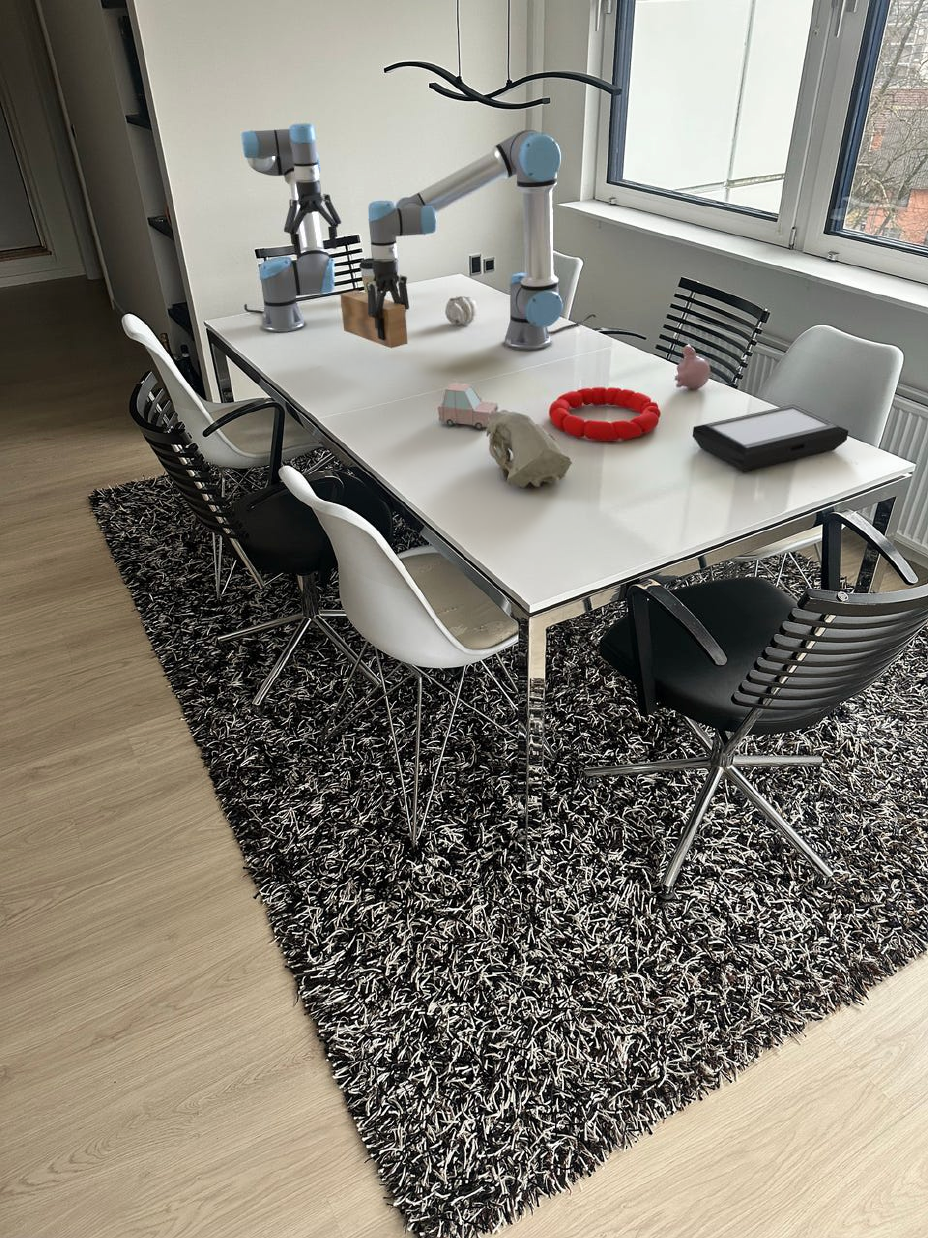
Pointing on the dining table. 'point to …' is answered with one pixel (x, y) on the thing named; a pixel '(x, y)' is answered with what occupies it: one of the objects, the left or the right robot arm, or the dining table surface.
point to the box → (365, 325)
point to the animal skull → (525, 450)
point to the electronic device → (769, 437)
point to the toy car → (465, 406)
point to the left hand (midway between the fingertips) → (316, 251)
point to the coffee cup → (367, 272)
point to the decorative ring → (604, 428)
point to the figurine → (692, 370)
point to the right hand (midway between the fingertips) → (390, 336)
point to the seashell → (461, 310)
